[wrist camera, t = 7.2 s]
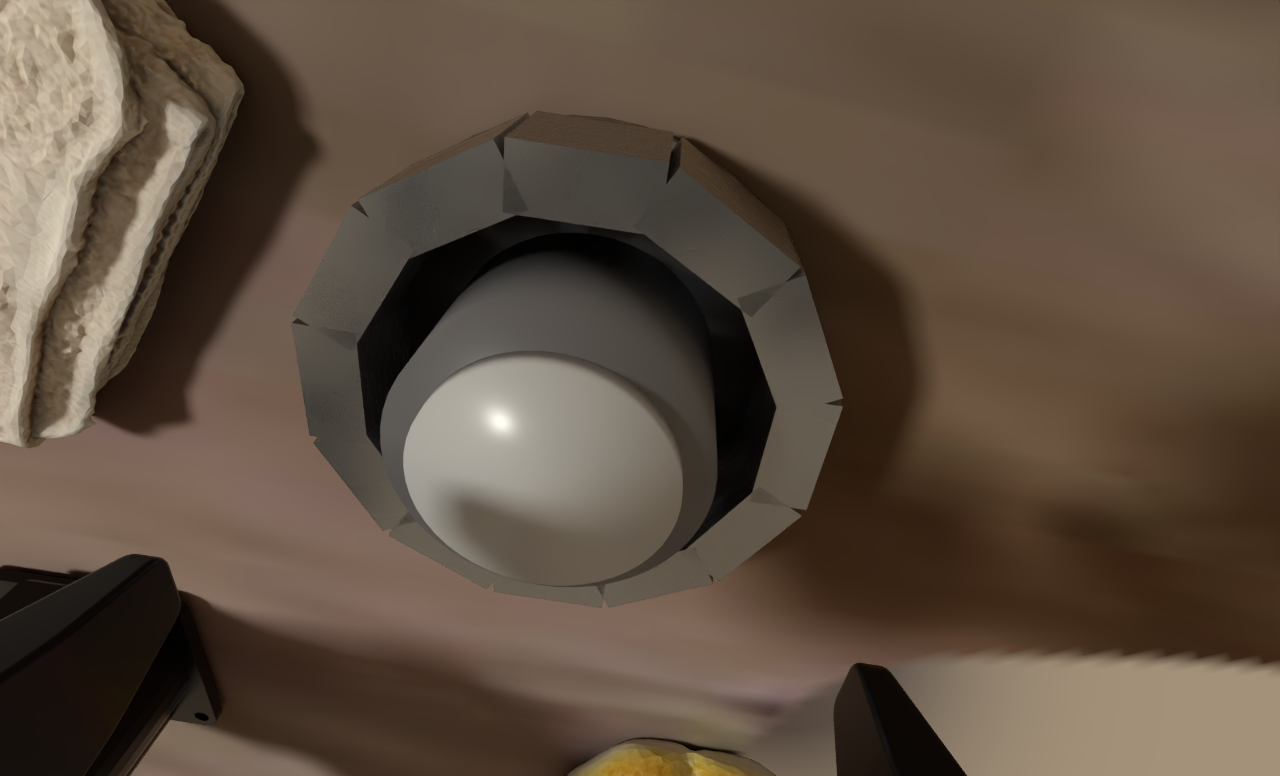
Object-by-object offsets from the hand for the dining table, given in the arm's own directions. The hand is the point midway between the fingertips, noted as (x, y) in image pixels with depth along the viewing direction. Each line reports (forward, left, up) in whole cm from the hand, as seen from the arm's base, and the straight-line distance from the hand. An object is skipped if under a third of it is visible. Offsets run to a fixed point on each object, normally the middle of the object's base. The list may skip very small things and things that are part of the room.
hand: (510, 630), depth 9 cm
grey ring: (0, 0, -8) cm, 8 cm away
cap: (0, 0, -8) cm, 8 cm away
